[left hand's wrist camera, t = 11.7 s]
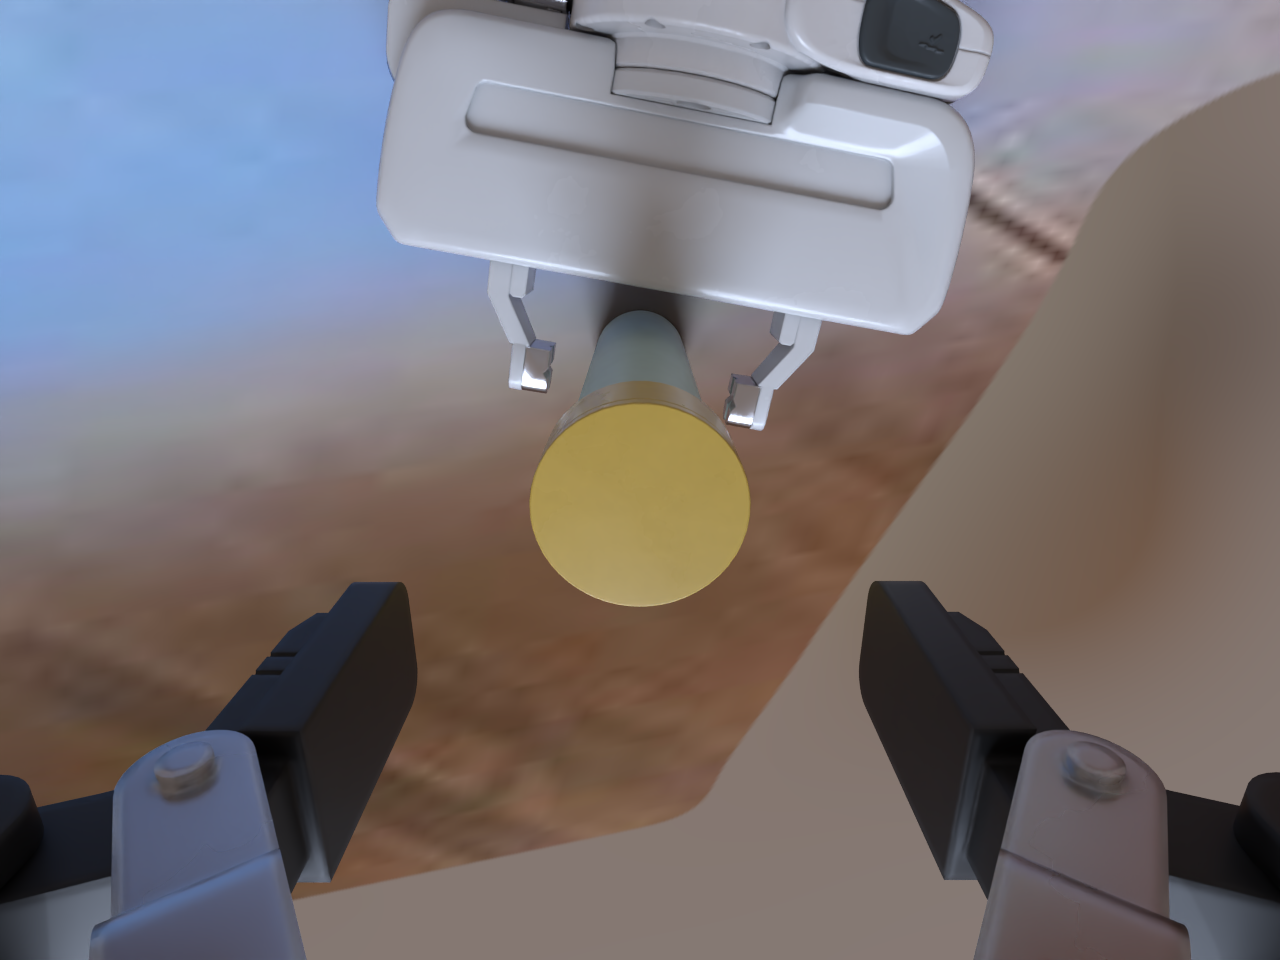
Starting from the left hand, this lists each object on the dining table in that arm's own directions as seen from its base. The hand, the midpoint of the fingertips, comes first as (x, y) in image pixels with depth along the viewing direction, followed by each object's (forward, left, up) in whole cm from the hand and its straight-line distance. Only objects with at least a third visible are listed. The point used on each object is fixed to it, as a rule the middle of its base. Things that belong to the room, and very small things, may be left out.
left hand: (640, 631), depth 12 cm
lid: (0, 0, -5) cm, 5 cm away
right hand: (+1, -1, -18) cm, 18 cm away
